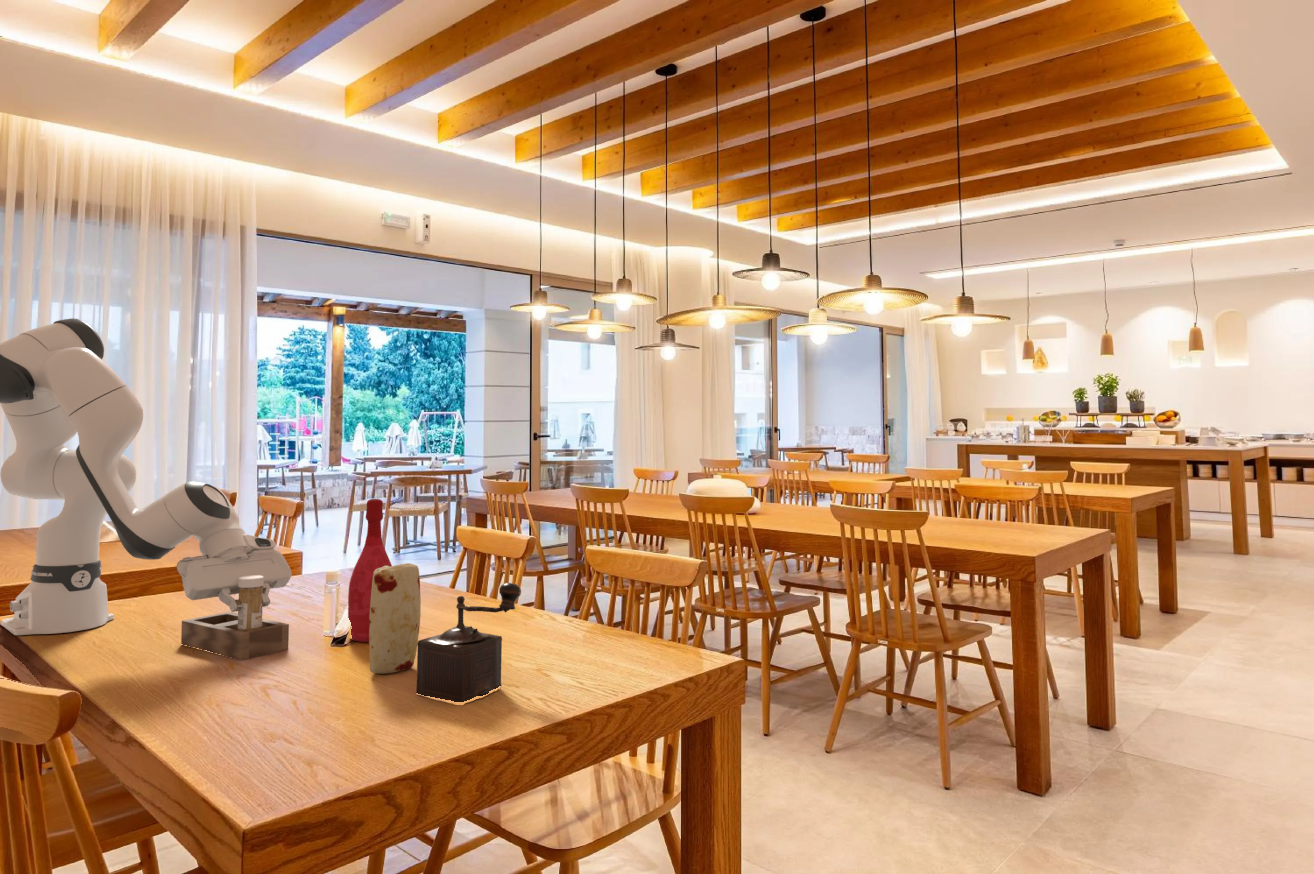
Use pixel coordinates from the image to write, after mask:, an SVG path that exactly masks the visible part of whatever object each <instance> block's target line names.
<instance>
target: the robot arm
mask: <svg viewBox="0 0 1314 874" xmlns="http://www.w3.org/2000/svg"><path fill="white" fill-rule="evenodd" d="M104 353H105V346H104V343H103V341H102V338H101V337H100V335H99V333H98V332H97V331H96V330H95V329H94V328H93V327H92V326H91V325H89V323H86V321H82V320H81V319H78V318H74V317H73V318H66V319H65V318H64V319H60V320H55V321H54V322H53V323H51V324H46V325H43V326H38V327H36V328H31V329H30V330H27V331H24V332H21V333H19V335H16V336H14V337H12V338H10V339H8V340H5V341H3V342H1V343H0V406H1V408H2V411H3V412H4V414H5V417H6V419H7V421H8V423H9V426H10V428H11V430H12V432H13V436H14V438H15V441H16V443H15V445H16V446H15V447H16V448H15V450H14V452H13V453H12V454H11V455H9V456H8V457H7V458H6V460H5V461H4V462H3V464H2V466H1V469H0V483H1V485H2V487H3V488H4V490H6V491H7V493H9V494H10V495H13V496H18V497H22V498H28V499H32V500H58V501H59V500H61V501H62V500H64V501H63V502H64V503H63V507H62V509H61V511H60V513H59V514H58V515H57V516H55V517H53V518H51V519H48V520H47V521H45V522H43V523H42V524H41V525H40V526H39V528H38V530H37V532H36V550H35V553H36V554H35V564H34V565H32V570H31V573H30V580H31V582H30V583H29V584H28V586H26V587H25V588H24V589H23V590H22V591H21V592H20V593H19V594H18V595H17V596H16V597H15V600H11V601H10V602H9V610H10V612H13V613H14V615H13V616H10V617H8V618H7V617H5V618H3V619H1V620H0V625H1V626H2V627H4V629H6V630H7V631H8V632H10V633H11V634H13V635H14V636H25V635H26V636H27V635H29V636H30V635H48V634H49V635H51V634H62V633H72V632H78V631H85V630H90V629H94V628H97V627H101V626H103V625H105V624H106V623H107V622H109V621H111V620H114V619H115V614H114V613H111V612H110V613H109V603H108V600H109V599H108V588H107V587H108V586H107V584H106V583H105V582H104V581H102V580H101V575H102V568H103V567H102V561H101V560H100V543H101V542H100V541H101V540H100V539H101V533H102V532H101V531H102V526H103V523H104V520H105V518H106V515H108V517H109V519H110V521H111V523H112V524H113V526H114V527H113V528H115V531H116V533H117V536H118V539H119V540H120V543H121V544H122V546H123V548H124V550H125V551H126V552H127V553H128V554H129V555H131V557H133V558H136V559H139V560H140V559H141V560H151V561H153V560H155V561H156V560H160V559H162V558H163V557H164V556H166V555H167V554H169V553H170V552H171V551H172V550H174V549H175V548H176V547H177V546H178V545H180V544H182V543H183V542H185V541H186V540H188V539H190V538H191V537H193V536H194V538H195V539H196V540H197V541H198V544H199V545H198V547H199V548H198V549H199V551H200V555H198V556H197V555H196V556H192V557H191V556H186V557H182V558H181V560H179V561H178V562H177V563H176V570H177V572H178V574H179V576H181V579H182V580H181V582H182V587H183V590H184V594H185V596H186V598H187V599H189V600H191V601H197V600H203V599H206V600H207V599H211V598H217V597H218V599H219V601H220V602H222V603H223V604H225V605H226V606H228V608H229V610H230V612H233V613H236V612H238V611H240V609H241V608H242V604H241V603H240V602H241V601H240V599H239V598H238V599H235V597H233V596H232V595H237V594H238V595H239V589H238V588H239V587H238V578H239V577H242V576H248V575H260V576H263V577H264V585H263V588H262V608H266V607H269V605H270V604H271V599H270V596H269V593H270V590H271V589H272V590H273V589H279V588H280V589H281V588H284V587H286V586H287V584H288V583H289V581H290V580H291V579H292V576H293V573H292V570H291V568H290V566H289V563H288V562H287V560H286V559H285V556H284V555H283V554H282V553H281V552H280V551H279V550H277V549H276V546H277V545H276V542H275V541H274V540H273V539H271V538H267V537H266V538H264V537H260V536H254V535H250V534H247V533H246V532H245V530H244V529H243V528H242V527H241V525H240V519H239V517H238V515H237V512H236V510H235V508H234V506H233V504H232V503H231V502H230V500H229V499H228V497H227V496H226V494H225V493H224V492H223V491H222V489H220V488H219V487H217V486H214V485H211V484H208V483H205V482H200V481H186V482H185V483H182V484H180V485H178V486H177V487H175V488H174V489H172V490H170V491H168V492H167V493H166V494H164V495H163V496H162V497H160V498H158V499H156V500H155V501H153V502H150V503H149V504H148V505H147V506H145V507H143V508H139V507H138V506H137V504H136V503H135V501H134V499H133V498H132V496H131V494H130V491H131V490H132V489H133V487H134V485H135V484H136V483H135V482H136V480H137V470H136V467H135V464H134V462H133V461H132V460H131V459H130V458H129V457H128V456H127V455H124V454H123V453H124V452H125V451H126V449H127V448H128V447H129V446H130V445H131V443H132V442H133V441H134V439H136V437H137V435H138V433H139V432H140V429H141V427H142V424H143V420H144V412H143V411H144V410H143V407H142V404H141V403H140V401H139V400H138V398H137V397H136V395H135V394H134V392H133V391H132V390H131V389H130V388H129V387H128V386H127V384H126V383H125V382H124V380H123V379H122V377H120V376H119V375H118V374H117V373H116V372H115V371H114V370H113V369H112V367H110V366H109V365H108V364H107V363H106V362H105V361H104V360H103V358H104V355H105V354H104ZM76 434H77V435H78V445H77V447H76V449H69V448H67V446H66V445H65V444H66V443H67V442H68V441H71V440H72V439H73V438H74V437H75V436H76Z"/></svg>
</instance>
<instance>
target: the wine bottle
mask: <svg viewBox="0 0 1314 874" xmlns="http://www.w3.org/2000/svg"><path fill="white" fill-rule="evenodd" d="M383 505H384V502H383V500H382V499H380V498H371V499H368V500H367V501H366V509H365V510H366V511H365V513H366V514H365V520H366V521H367V532H366V537H365V541H364V546H363V547H362V548H363V549H362V550H361V553H360V554H359V557H358V559H357V561H356V563H355V565H354V567H353V570H352V573H351V576H350V580H349V583H348V595H347V596H348V598H347V617H348V618H349V620H350V622H351V626H352V629H351V635H352V639H353V640H352V639H351V640H352V641H354V642H358V643H369V628H370V625H369V617H370V603H371V590H372V580H373V573H374V571H375V570H376V569H377V568H381V567H383V566H389V567H391V566H393V564H392V562H391V559H390V558H389V555H388V553H387V551H386V549H385V546H384V542H383V537H382V536H383V535H382V520H383V519H384V513H383V510H384V509H383ZM348 618H347V619H348Z"/></svg>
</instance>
